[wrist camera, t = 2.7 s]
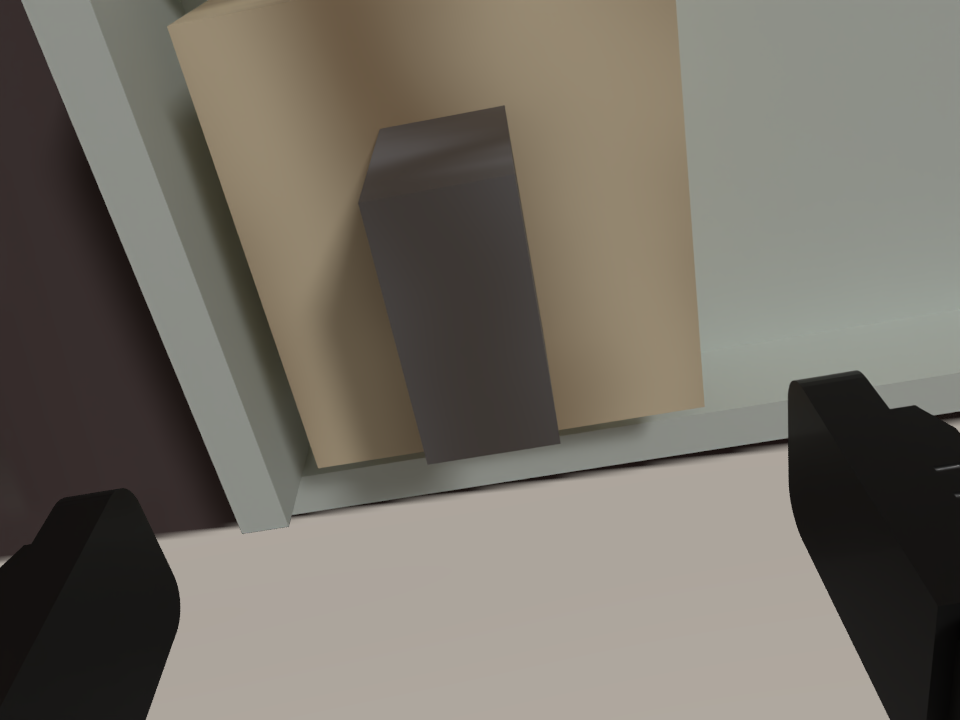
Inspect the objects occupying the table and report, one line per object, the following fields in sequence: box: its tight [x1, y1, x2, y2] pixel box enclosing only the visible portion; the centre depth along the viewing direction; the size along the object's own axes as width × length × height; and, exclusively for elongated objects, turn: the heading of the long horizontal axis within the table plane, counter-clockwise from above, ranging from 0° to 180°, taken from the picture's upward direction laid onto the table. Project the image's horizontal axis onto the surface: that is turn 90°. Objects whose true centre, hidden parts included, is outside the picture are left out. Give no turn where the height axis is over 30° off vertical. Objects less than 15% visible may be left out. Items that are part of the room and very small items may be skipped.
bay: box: [21, 0, 960, 534], centre depth 21 cm, size 26×16×6 cm, turn 100°
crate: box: [167, 0, 705, 468], centre depth 19 cm, size 9×10×9 cm
